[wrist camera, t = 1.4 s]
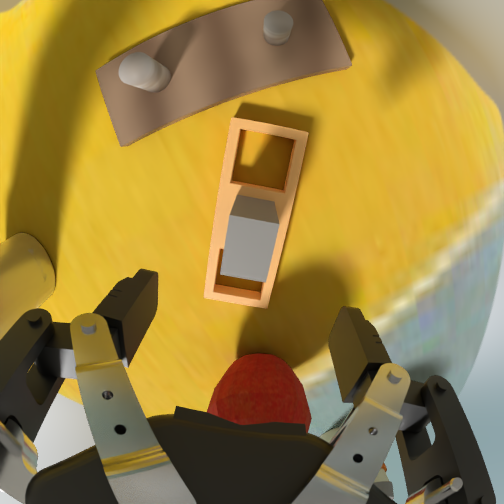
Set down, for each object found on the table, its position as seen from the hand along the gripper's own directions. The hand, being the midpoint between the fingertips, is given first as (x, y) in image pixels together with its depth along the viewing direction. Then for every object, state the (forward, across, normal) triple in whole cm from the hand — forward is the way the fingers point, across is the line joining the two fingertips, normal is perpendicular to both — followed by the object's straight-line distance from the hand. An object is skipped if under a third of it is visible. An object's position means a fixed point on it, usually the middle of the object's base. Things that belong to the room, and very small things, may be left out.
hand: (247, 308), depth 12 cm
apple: (+14, -4, +17) cm, 22 cm away
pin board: (+14, +6, -13) cm, 20 cm away
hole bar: (+14, 0, 0) cm, 14 cm away
